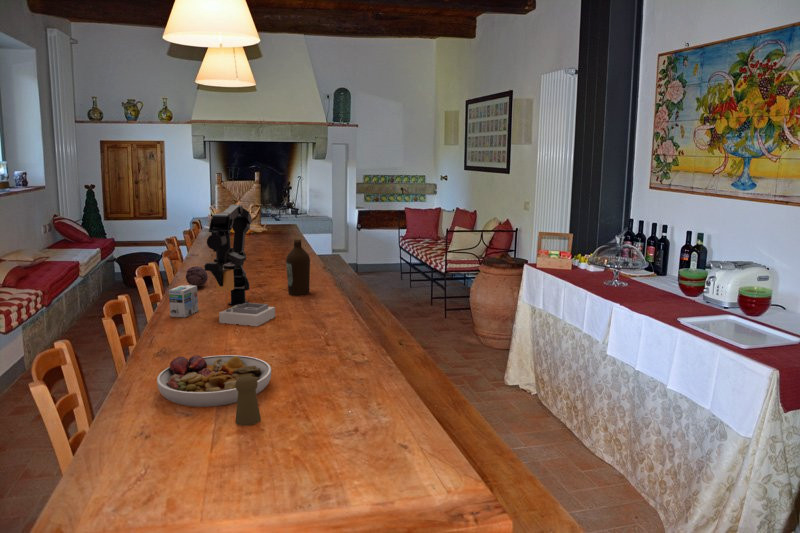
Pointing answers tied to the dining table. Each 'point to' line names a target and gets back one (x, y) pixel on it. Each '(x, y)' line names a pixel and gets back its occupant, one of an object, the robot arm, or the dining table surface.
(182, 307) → the light bulb box
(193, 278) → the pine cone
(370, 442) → the dining table surface
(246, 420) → the salt shaker
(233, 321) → the white recessed base box
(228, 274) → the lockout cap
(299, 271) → the olive oil
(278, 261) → the dining table surface
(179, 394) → the bowl
